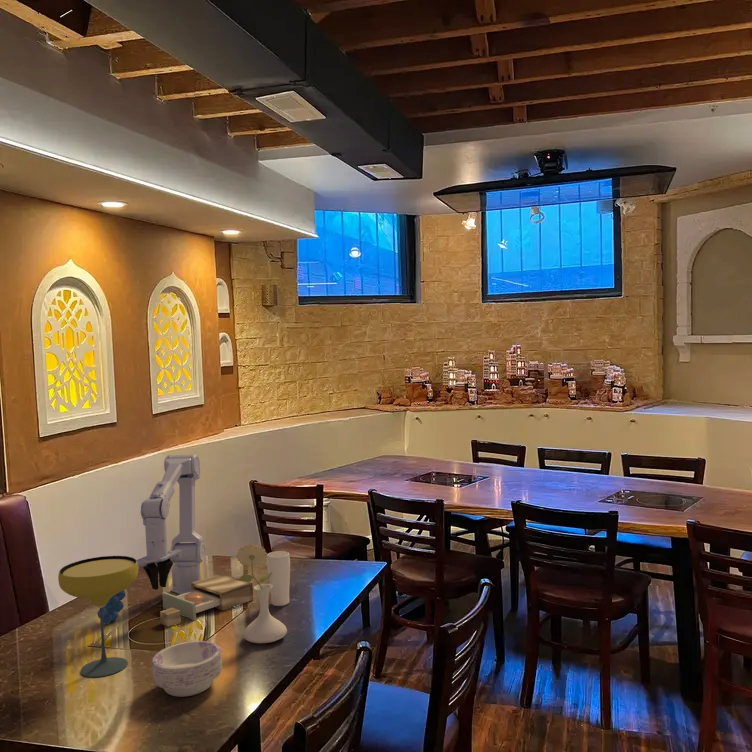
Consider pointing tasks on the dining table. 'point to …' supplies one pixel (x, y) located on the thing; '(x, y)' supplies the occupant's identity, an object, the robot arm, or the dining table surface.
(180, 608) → the pull-out drawer
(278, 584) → the white cylinder
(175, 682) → the paper bowls
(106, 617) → the grapes
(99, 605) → the cocktail glass
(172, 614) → the block
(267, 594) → the flower in vase
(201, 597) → the rounded lump
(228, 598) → the housing
